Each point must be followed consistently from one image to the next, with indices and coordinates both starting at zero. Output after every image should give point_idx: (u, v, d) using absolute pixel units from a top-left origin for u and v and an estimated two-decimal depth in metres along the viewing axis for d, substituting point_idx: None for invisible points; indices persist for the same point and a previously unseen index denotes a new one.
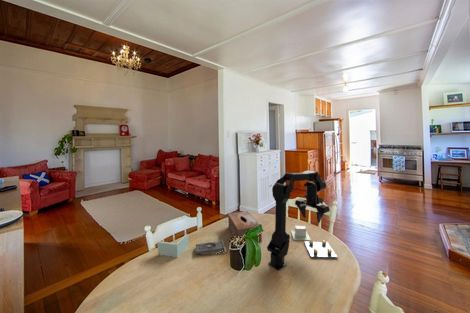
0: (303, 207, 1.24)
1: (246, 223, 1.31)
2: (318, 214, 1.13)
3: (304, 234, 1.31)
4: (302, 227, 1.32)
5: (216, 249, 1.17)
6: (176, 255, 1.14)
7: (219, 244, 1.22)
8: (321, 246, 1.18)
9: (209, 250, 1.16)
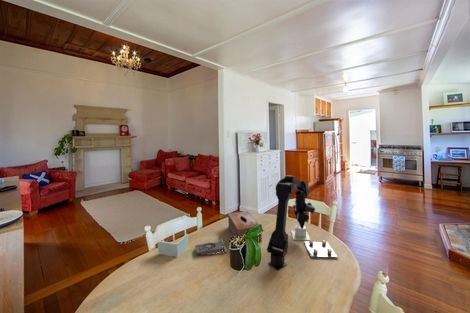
0: (298, 212, 1.37)
1: (246, 223, 1.31)
2: (297, 219, 1.26)
3: (304, 234, 1.31)
4: None
5: (216, 249, 1.16)
6: (176, 255, 1.14)
7: (219, 244, 1.22)
8: (321, 246, 1.18)
9: (209, 250, 1.15)
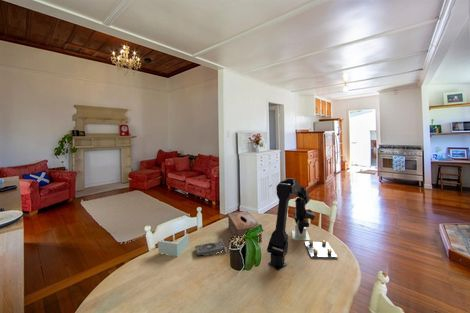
0: None
1: (246, 223, 1.31)
2: (297, 225, 1.29)
3: (304, 234, 1.31)
4: None
5: (217, 249, 1.16)
6: (176, 254, 1.15)
7: (219, 244, 1.21)
8: (321, 246, 1.18)
9: (210, 251, 1.15)
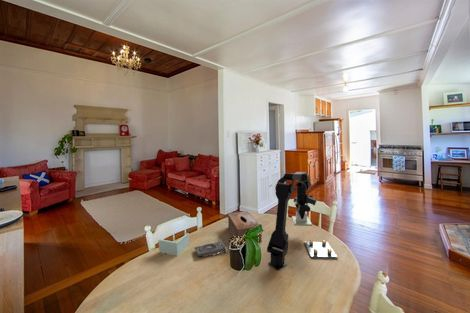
0: None
1: (246, 223, 1.31)
2: (298, 210, 1.26)
3: (305, 219, 1.28)
4: None
5: (217, 250, 1.16)
6: (176, 253, 1.15)
7: (219, 244, 1.21)
8: (321, 246, 1.18)
9: (211, 251, 1.15)
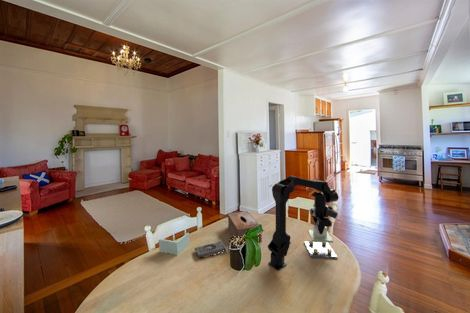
0: (317, 219, 1.17)
1: (246, 223, 1.31)
2: None
3: (324, 234, 1.13)
4: None
5: (218, 250, 1.16)
6: (176, 253, 1.16)
7: (219, 245, 1.21)
8: (321, 246, 1.18)
9: (211, 251, 1.14)
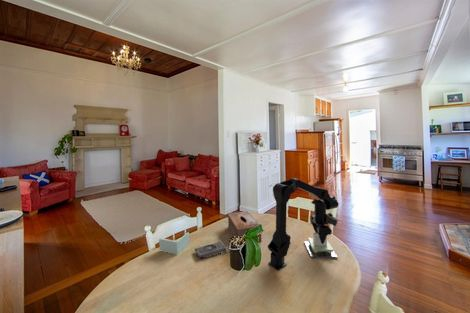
0: (316, 224, 1.20)
1: (246, 223, 1.31)
2: (318, 233, 1.09)
3: (325, 243, 1.13)
4: None
5: (218, 250, 1.16)
6: (176, 252, 1.16)
7: (219, 245, 1.21)
8: None
9: (212, 252, 1.14)
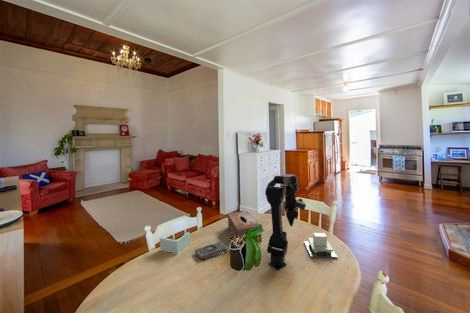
0: None
1: (246, 223, 1.31)
2: (286, 216, 1.17)
3: (325, 243, 1.13)
4: (322, 234, 1.15)
5: (219, 250, 1.16)
6: (176, 252, 1.17)
7: (219, 245, 1.21)
8: None
9: (213, 252, 1.14)
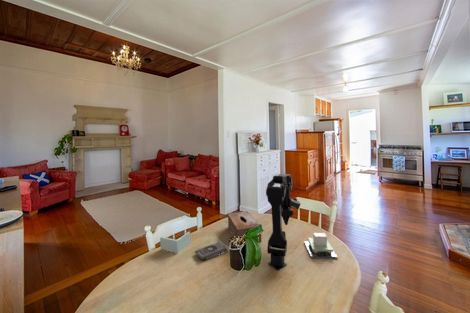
0: None
1: (246, 223, 1.31)
2: (281, 215, 1.18)
3: (325, 243, 1.13)
4: (322, 234, 1.15)
5: (220, 250, 1.15)
6: (176, 251, 1.18)
7: (219, 245, 1.21)
8: None
9: (214, 253, 1.13)
